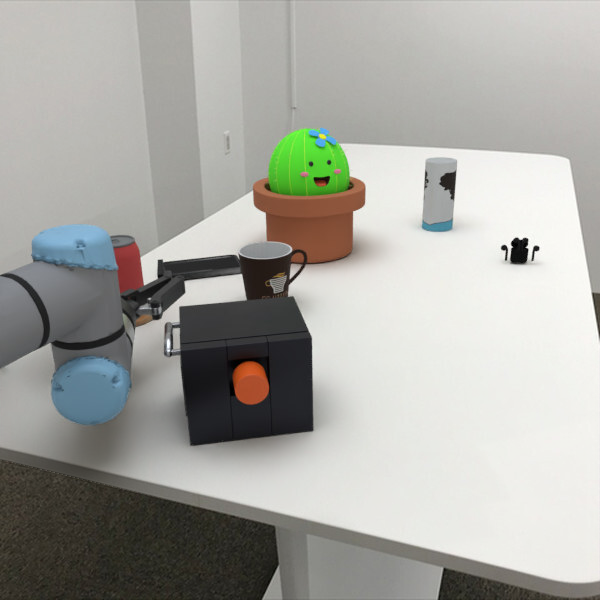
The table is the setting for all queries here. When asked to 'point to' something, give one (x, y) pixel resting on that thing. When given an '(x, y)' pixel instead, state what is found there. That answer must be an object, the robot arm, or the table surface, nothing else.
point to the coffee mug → (267, 269)
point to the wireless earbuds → (519, 250)
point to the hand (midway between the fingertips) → (114, 271)
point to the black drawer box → (232, 352)
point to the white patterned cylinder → (439, 194)
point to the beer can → (127, 262)
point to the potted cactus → (310, 196)
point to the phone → (204, 266)
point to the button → (250, 382)
